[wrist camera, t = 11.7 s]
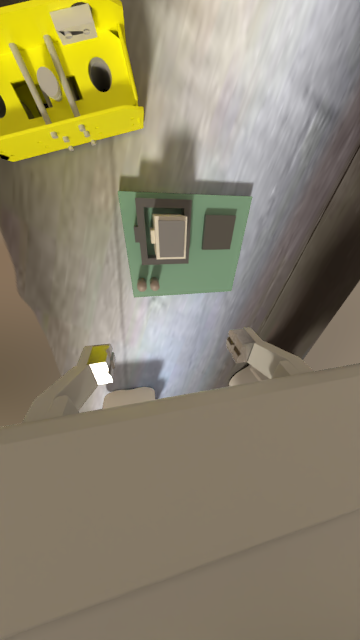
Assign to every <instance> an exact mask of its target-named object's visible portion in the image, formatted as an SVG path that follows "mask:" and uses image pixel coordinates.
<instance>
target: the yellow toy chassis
mask: <svg viewBox="0 0 360 640" xmlns="http://www.w3.org/2000/svg"><path fill="white" fill-rule="evenodd" d="M77 2H85V3H87V4H82V5H78V6H74V7H71V6H72V5H73V4H74V3H77ZM89 5H90V6H91V7H92V13H91V10H90V7H89ZM103 89H109V90H108V91H107V92H101V91H102V90H103ZM46 103H47V104H48V107H49V108H46V109H45V106H44V104H46ZM36 106H37V107H38V109H39V111H40V113H41V115H42V117H41V116H40V114H39V112H38V109H37V107H36ZM143 120H144V109H143V107H140V106H138V95H137V91H136V86H135V82H134V77H133V73H132V69H131V64H130V60H129V56H128V51H127V47H126V38H125V27H124V16H123V6H122V2H121V1H119V0H30V1H26V2H22V3H17V4H13V5H9V6H5V7H0V158H2V159H6V160H9V161H12V162H15V161H18V160H22V159H26V158H30V157H34V156H38V155H42V154H45V153H49V152H53V151H57V150H61V149H65V148H69V150H70V151H74V147H73V146H76V145H80V144H84V143H88V142H91V144H92V145H96V140H99V139H103V138H107V137H111V136H115V135H119V134H123V133H127V132H130V131H134V130H138V129H142V128H143Z"/></svg>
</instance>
